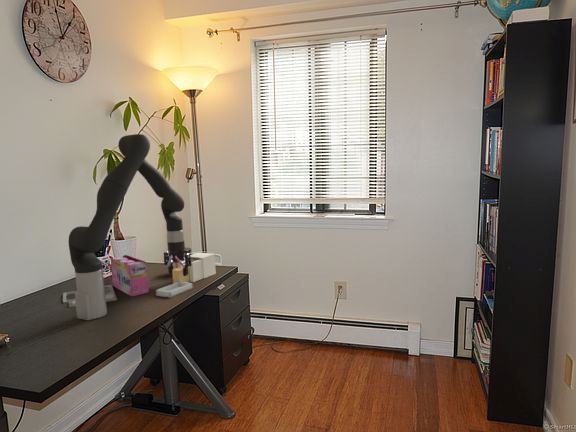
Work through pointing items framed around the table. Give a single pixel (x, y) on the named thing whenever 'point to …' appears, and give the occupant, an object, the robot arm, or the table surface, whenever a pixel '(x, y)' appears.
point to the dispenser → (201, 266)
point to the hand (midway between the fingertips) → (178, 274)
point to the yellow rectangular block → (180, 275)
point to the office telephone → (108, 296)
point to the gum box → (130, 275)
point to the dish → (174, 289)
